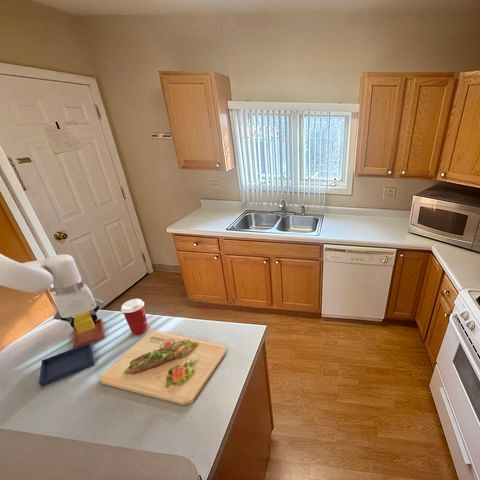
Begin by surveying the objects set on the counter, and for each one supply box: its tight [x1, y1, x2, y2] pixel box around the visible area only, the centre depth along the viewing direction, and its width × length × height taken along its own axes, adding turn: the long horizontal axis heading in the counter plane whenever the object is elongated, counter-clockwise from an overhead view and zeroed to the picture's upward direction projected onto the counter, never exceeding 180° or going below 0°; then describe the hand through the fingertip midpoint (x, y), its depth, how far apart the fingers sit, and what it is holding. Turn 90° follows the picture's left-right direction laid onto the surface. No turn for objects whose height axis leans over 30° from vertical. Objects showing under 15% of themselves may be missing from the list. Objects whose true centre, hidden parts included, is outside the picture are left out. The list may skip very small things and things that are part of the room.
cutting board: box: [99, 330, 228, 406], centre depth 91 cm, size 35×23×8 cm
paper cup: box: [120, 298, 149, 336], centre depth 104 cm, size 8×8×14 cm
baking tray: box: [38, 342, 95, 388], centre depth 90 cm, size 13×11×2 cm
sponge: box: [73, 311, 95, 334], centre depth 101 cm, size 8×5×4 cm, turn 41°
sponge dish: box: [72, 318, 106, 349], centre depth 103 cm, size 12×9×2 cm
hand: (85, 324), depth 102 cm, fingers closed on sponge, 5 cm apart
